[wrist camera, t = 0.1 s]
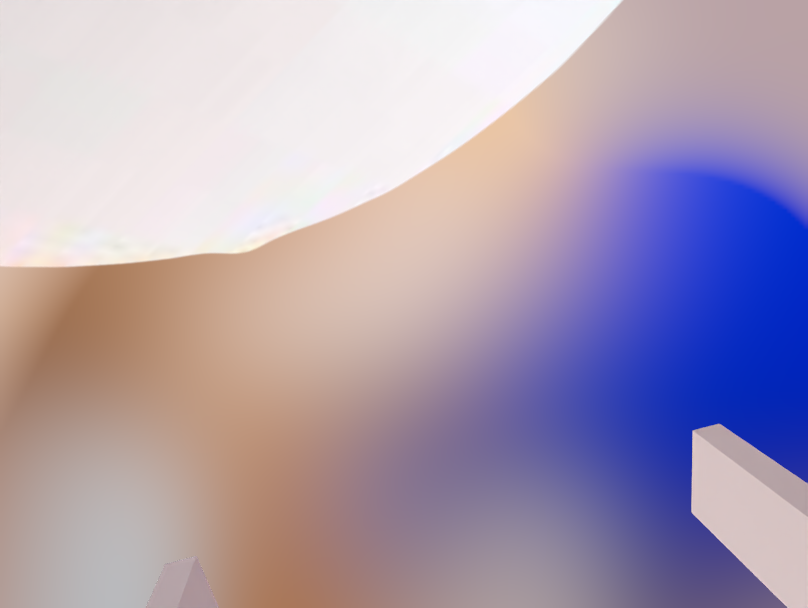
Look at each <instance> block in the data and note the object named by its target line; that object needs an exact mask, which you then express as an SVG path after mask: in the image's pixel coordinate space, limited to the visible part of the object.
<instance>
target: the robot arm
mask: <svg viewBox="0 0 808 608" xmlns="http://www.w3.org/2000/svg"><path fill="white" fill-rule="evenodd" d="M692 446H693V447H692V450H693V451H692V513H693V514H694V515H695V516H696V517H697V518H698V519H699V520H700V521H701V522H702V523H703V524H704V525H705V526H706V527H707V528H708V529H709V530H710V531H711V532H712V533H713V534H714V535H715V536H716V537H717V538H718V539H719V540H720V541H721V542H722V543H723V544H724V545H725V546H726V547H727V548H728V549H729V550H730V551H731V552H732V553H733V554H734V555H735V556H736V557H737V558H738V559H739V560H740V561H741V562H742V563H743V564H744V565H745V566H746V567H747V568H748V569H749V570H750V571H751V572H752V573H753V574H754V575H755V576H756V577H758V579H759V580H760V581H762V583H763V584H764V585H765V586H766V587H767V588H769V590H770V591H772V593H773V594H774V595H776V596H777V597H778V598H779V599H780V600H781V601H782V602H783V603H784V604H785V605H786V606H787V607H788V608H808V484H807V483H806V482H804V481H803V480H801V479H800V478H798V477H797V476H795V475H794V474H792V473H791V472H789V471H788V470H786V469H785V468H784V467H782V466H781V465H779V464H778V463H776V462H775V461H773V460H772V459H770V458H769V457H767V456H766V455H764V454H763V453H762V452H760V451H759V450H757V449H756V448H754V447H753V446H751V445H750V444H748V443H747V442H745V441H744V440H743V439H741V438H739V437H738V436H737V435H735V434H734V433H732V432H731V431H729V430H728V429H726V428H725V427H723V426H722V425H720V424H716V425H713V426H709V427H705V428H701V429H697V430H693V443H692ZM146 608H219V607H218V604H217V602H216V600H215V597H214V595H213V593H212V591H211V589H210V586H209V584H208V581H207V579H206V577H205V574H204V572H203V570H202V567H201V565H200V563H199V561H198V559H197V556H195V557H191V558H187V559H183V560H179V561H175V562H171V563H167V564H165V565H164V568H163V570H162V572H161V575H160V577H159V579H158V581H157V583H156V586H155V588H154V590H153V593H152V595H151V597H150V599H149V602H148V603H147V606H146Z"/></svg>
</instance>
